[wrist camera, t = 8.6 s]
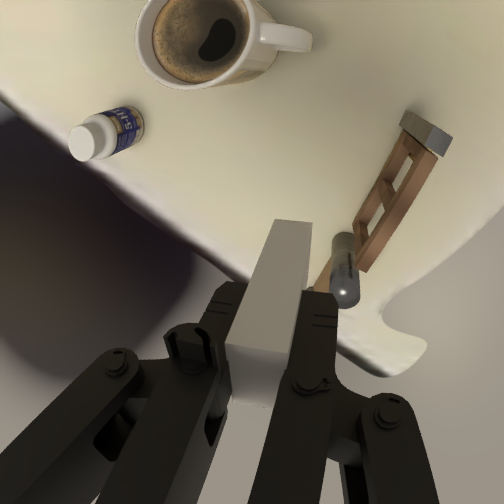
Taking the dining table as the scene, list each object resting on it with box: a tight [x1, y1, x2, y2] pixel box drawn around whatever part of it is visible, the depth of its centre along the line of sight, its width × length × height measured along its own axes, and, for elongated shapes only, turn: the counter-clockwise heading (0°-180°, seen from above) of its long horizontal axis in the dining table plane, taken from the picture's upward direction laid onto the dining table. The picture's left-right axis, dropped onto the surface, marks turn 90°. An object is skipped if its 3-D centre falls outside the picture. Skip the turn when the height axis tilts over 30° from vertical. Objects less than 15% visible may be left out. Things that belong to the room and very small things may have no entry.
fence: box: [306, 130, 408, 309], centre depth 31 cm, size 25×3×10 cm, turn 161°
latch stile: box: [399, 110, 453, 162], centre depth 24 cm, size 4×3×10 cm
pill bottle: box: [68, 106, 143, 161], centre depth 32 cm, size 5×5×9 cm
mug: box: [135, 0, 313, 91], centre depth 23 cm, size 10×12×11 cm
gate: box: [352, 131, 438, 273], centre depth 28 cm, size 12×1×9 cm, turn 161°
